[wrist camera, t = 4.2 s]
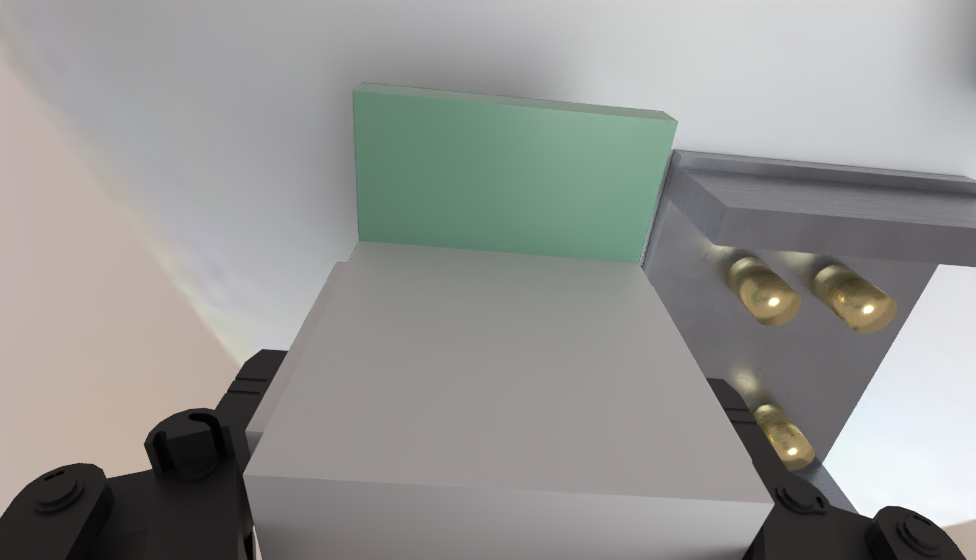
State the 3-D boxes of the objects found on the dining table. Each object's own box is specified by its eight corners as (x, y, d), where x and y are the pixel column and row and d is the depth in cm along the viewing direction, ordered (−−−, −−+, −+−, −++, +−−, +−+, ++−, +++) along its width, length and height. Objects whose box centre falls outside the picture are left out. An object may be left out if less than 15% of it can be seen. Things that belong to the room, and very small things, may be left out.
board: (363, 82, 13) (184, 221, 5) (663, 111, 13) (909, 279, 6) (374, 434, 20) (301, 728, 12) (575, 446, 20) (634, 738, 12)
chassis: (674, 150, 23) (731, 193, 17) (967, 176, 23) (1108, 226, 18) (590, 460, 32) (611, 549, 27) (800, 472, 33) (860, 561, 28)
